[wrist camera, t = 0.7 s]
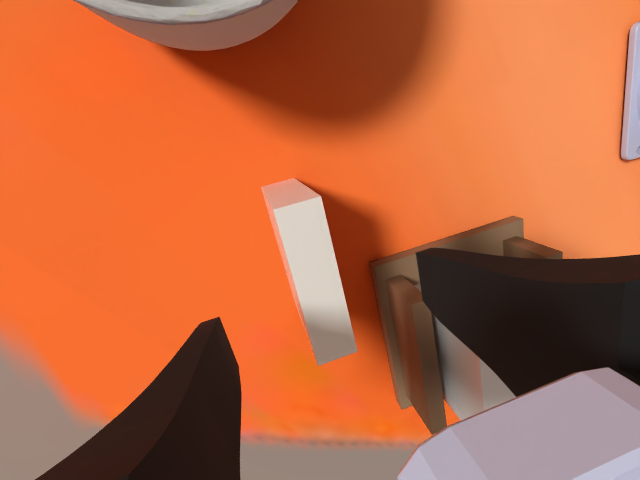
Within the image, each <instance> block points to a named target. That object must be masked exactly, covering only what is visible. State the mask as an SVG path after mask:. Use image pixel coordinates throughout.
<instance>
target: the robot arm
mask: <svg viewBox="0 0 640 480" xmlns="http://www.w3.org/2000/svg"><path fill="white" fill-rule="evenodd" d="M621 157H622V159H624V160H633V159H636V158H639V157H640V21H639V22H636V23H635V24H634V25H633V26H632V27H631V29H630V33H629V47H628V61H627V75H626V89H625V103H624V117H623V130H622V144H621ZM416 259H417V265H418V272H419V279H420V286H421V293H422V300H423V302H424V303H425V305H426V306H427V307H428V308H429V310H430V311H431V312H432V313H433V315H434V316H435V317H436V318H437V319H438V320H439V321H440V322H441V323H442V324H443V325H444V326H445V327H446V328H447V329H448V330H449V331H450V332H451V333H452V334H453V335H455V336H456V337H457V338H458V339H459V340H460V341H461V342H462V343H463V344H464V345H466V346H467V347H468V348H469V349H470V350H471V351H472V352H473V353H474V354H475V355H477V356H478V357H479V358H480V359H481V360H482V361H483V362H484V363H485V364H486V365H487V366H488V367H489V368H490V369H491V370H492V371H493V372H494V373H495V374H496V375H497V376H498V377H499V378H500V379H501V380H502V382H503V383H504V384H505V385H506V386H507V387H508V388H509V389H510V391H511V392H512V393H513V394H514V395H515V396H516V398H513V399H511V400H509V401H506V402H504V403H501V404H499V405H497V406H494V407H492V408H489V409H487V410H485V411H482V412H480V413H478V414H475V415H473V416H470V417H468V418H466V419H463V420H461V421H459V422H456V423H454V424H451V425H449V426H447V427H445V428H443V429H442V430H440V431H439V432H437V433H436V434H434V435H433V436H431V437H430V438H428V439H427V440H425V441H424V442H422V443H421V444H419V445H418V446H417V448H416V449H415V451H414V452H413V453H412V455H411V456H410V458H409V459H408V461H407V462H406V463H405V465H404V466H403V468H402V469H401V471H400V473H399V475H398V479H397V480H640V255H630V256H620V257H607V258H590V259H534V258H518V257H508V256H498V255H490V254H482V253H475V252H468V251H461V250H454V249H446V248H428V249H425V250H422V251H419V252H416ZM240 431H241V384H240V375H239V366H238V363H237V361H236V358H235V356H234V353H233V351H232V348H231V345H230V343H229V340H228V338H227V335H226V333H225V330H224V327H223V325H222V322H221V320H220V317H217V318H214V319H211V320H208V321H205V322H202V323H200V324H199V325H198V327H197V328H196V329H195V330H194V332H193V333H192V334H191V335H190V337H189V338H188V339H187V341H186V342H185V343H184V345H183V346H182V347H181V348H180V350H179V351H178V352H177V353H176V355H175V356H174V357H173V359H172V360H171V361H170V362H169V363H168V364H167V366H166V367H165V368H164V369H163V370H162V371H161V373H160V374H159V375H158V376H157V377H156V378H155V379H154V381H153V382H152V383H151V384H150V385H149V386H148V387H147V388H146V389H145V390H144V391H143V392H142V393H141V394H140V395H139V396H138V397H137V398H136V399H135V400H134V401H133V402H132V403H131V404H130V405H129V406H128V407H127V408H126V409H125V410H124V411H123V412H122V413H120V414H119V415H118V416H117V417H116V418H115V419H113V420H112V421H111V422H110V423H109V424H107V425H106V426H105V427H104V428H103V429H102V430H100V431H99V432H98V433H97V434H96V435H95V436H94V437H92V438H91V439H90V440H88V441H87V442H86V443H85V444H83V445H82V446H81V447H79V448H78V449H77V450H76V451H74V452H73V453H72V454H70V455H69V456H68V457H66V458H65V459H64V460H62V461H61V462H59V463H58V464H57V465H55V466H54V467H53V468H51V469H50V470H48V471H47V472H46V473H44V474H43V475H41V476H40V477H38V478H37V479H35V480H240Z"/></svg>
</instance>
